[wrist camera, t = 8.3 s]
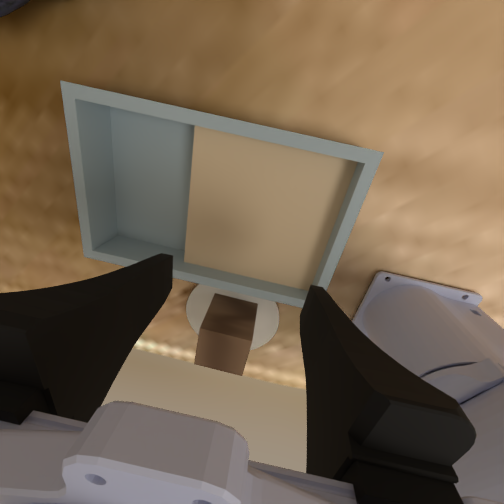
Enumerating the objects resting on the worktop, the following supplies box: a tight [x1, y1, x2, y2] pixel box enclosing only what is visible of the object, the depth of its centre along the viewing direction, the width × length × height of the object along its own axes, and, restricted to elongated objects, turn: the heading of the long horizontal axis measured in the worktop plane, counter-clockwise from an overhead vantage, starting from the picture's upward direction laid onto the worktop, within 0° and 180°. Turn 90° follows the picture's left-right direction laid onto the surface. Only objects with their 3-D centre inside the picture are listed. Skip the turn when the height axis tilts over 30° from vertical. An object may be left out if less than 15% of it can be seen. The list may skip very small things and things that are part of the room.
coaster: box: [186, 284, 279, 350], centre depth 26 cm, size 10×10×1 cm
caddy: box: [60, 80, 384, 308], centre depth 19 cm, size 20×12×4 cm, turn 79°
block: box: [194, 293, 258, 376], centre depth 23 cm, size 4×4×5 cm
